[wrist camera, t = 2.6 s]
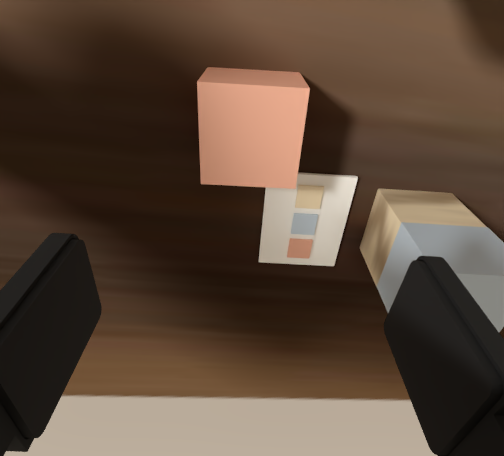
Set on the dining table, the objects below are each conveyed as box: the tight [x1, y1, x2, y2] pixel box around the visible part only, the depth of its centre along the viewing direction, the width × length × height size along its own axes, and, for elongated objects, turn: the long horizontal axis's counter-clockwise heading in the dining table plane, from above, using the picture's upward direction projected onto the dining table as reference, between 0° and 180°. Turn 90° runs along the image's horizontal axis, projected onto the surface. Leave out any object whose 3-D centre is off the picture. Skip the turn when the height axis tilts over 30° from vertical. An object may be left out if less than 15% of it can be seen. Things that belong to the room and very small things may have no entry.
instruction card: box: [258, 172, 358, 266], centre depth 28 cm, size 9×7×1 cm
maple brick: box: [360, 189, 486, 287], centre depth 26 cm, size 6×6×5 cm
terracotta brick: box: [197, 67, 310, 189], centre depth 21 cm, size 6×6×5 cm
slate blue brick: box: [377, 222, 504, 332], centre depth 22 cm, size 6×6×5 cm
